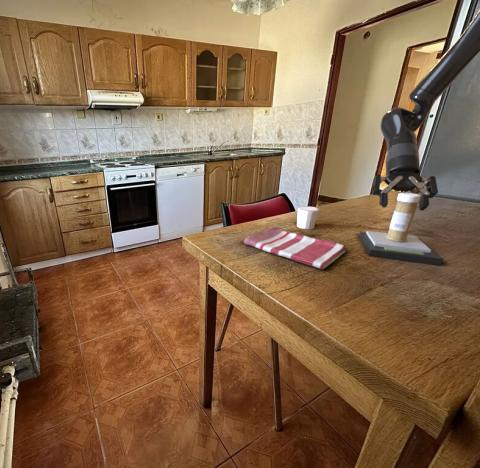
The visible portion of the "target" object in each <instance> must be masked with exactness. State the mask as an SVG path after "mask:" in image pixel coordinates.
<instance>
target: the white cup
mask: <svg viewBox="0 0 480 468" xmlns="http://www.w3.org/2000/svg"><path fill="white" fill-rule="evenodd" d="M319 212H320V209H319V208H318V207H315V206H307V205H302V206H298V207H297V217H296V219H297V220H296V226H297V228H299V229H303V230H313V229H314V228H315V225H316V223H317V219H318V216H319Z"/></svg>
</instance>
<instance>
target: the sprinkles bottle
mask: <svg viewBox="0 0 480 468" xmlns="http://www.w3.org/2000/svg"><path fill="white" fill-rule="evenodd" d="M420 197H421V196H420V195H418V194H413V193H411V192H400V193H398V195H397V198H396V205H395V208H394V210H393V213H392V218H391V221H390V224H389V228H388V231H387V233H388V235H387V236H386V238H387V239H389V240H392V241H396V242H405V241H406V240H407V235H409V232H410V230H411V227H412V223H413V219H414V216H415V213H416V210H417V206H418V204H419V201H420Z"/></svg>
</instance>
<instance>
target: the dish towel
mask: <svg viewBox="0 0 480 468" xmlns="http://www.w3.org/2000/svg"><path fill="white" fill-rule="evenodd" d="M243 244H244V245H246V246H250V247H252V248H256V249H259V250H261V251H264V252H267V253H270V254H273V255H276V256H280V257H284V258H287V259H289V260H292V261H295V262H297V263H301V264H304V265H307V266H310V267H315V268H317V269H320V270H324V269H325V268H327V267H329V266H330V265H331V264H332V263H334V262H335V261H336V260H338V259H339V258H340V257H341V256H342V255H343V254H345V253H346V246H345V245H344V244H341V243H337V242H334V241H331V240H326V239H321V238H313V237H310V236H307V235H304V234H300V233H294V232H289V231H285V230H282V229H279V228H278V227H276V226H274V225H273V226H271V227H269V228H267V229H266V230H263V231H261V232H258V233H254V234H251V235H249V236H247V237H246V238H245V239H244V240H243Z"/></svg>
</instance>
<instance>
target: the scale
mask: <svg viewBox="0 0 480 468" xmlns="http://www.w3.org/2000/svg"><path fill="white" fill-rule="evenodd" d="M387 235H388V232H379V231H373V230H366V232H364V231H360V232H359V235H358V239H359V242H361V244H362V246H363V248H364V250H365V251H366V253H367V255H368V257H373V258H374V257H375V258H381V259H388V260H396V261H402V262H410V263H417V264H425V265H432V266H440V267H441V265H442V263H443V260H444V258H443V257H442V256H441V255H440V254H438V253H437V252H436V251H435V250H434V249H433V248H432V247H431V246H430V245H429V244H427V243H426V242H425V241H424V240H423V239H422V238H420V237H418V236H417V235H412V234H411V235H410V234H408V235H407V240H406V241H405V242H396V241H392V240H389V239H387V238H386V236H387Z"/></svg>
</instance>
